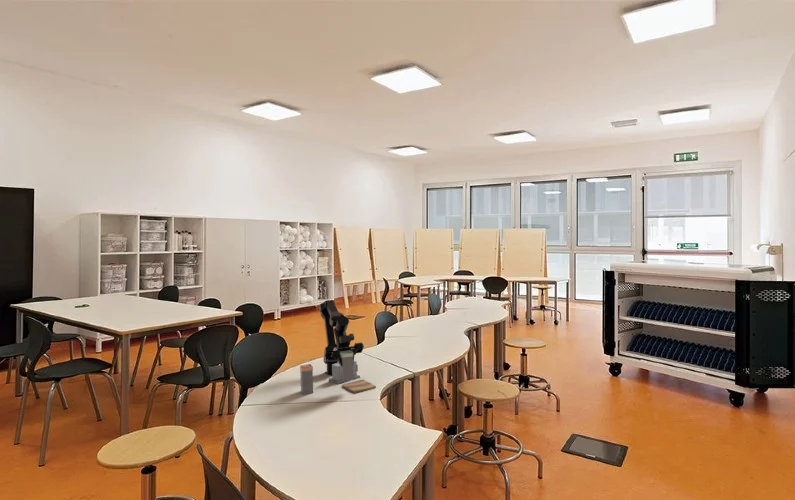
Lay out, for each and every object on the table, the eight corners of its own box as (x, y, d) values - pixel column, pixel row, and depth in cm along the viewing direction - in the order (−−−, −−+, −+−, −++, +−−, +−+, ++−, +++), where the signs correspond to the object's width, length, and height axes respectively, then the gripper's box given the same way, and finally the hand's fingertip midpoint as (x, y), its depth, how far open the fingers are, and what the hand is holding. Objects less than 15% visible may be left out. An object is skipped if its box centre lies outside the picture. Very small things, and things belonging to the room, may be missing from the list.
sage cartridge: (340, 377, 212) (339, 351, 211) (350, 375, 214) (350, 350, 213) (343, 380, 207) (342, 354, 206) (353, 379, 209) (353, 353, 208)
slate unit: (329, 380, 228) (328, 364, 228) (351, 374, 237) (350, 358, 237) (337, 384, 222) (337, 367, 222) (360, 377, 231) (359, 361, 231)
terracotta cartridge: (300, 390, 214) (299, 365, 213) (311, 389, 216) (310, 364, 215) (302, 394, 209) (301, 368, 209) (313, 392, 211) (312, 367, 210)
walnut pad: (342, 386, 219) (342, 384, 218) (363, 381, 226) (363, 379, 225) (354, 393, 209) (354, 391, 209) (375, 387, 216) (375, 385, 216)
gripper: (324, 330, 209) (330, 359, 200) (362, 326, 216) (369, 354, 207) (321, 342, 217) (327, 371, 208) (358, 338, 224) (364, 365, 215)
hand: (347, 365), depth 209 cm, fingers closed on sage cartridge, 5 cm apart
